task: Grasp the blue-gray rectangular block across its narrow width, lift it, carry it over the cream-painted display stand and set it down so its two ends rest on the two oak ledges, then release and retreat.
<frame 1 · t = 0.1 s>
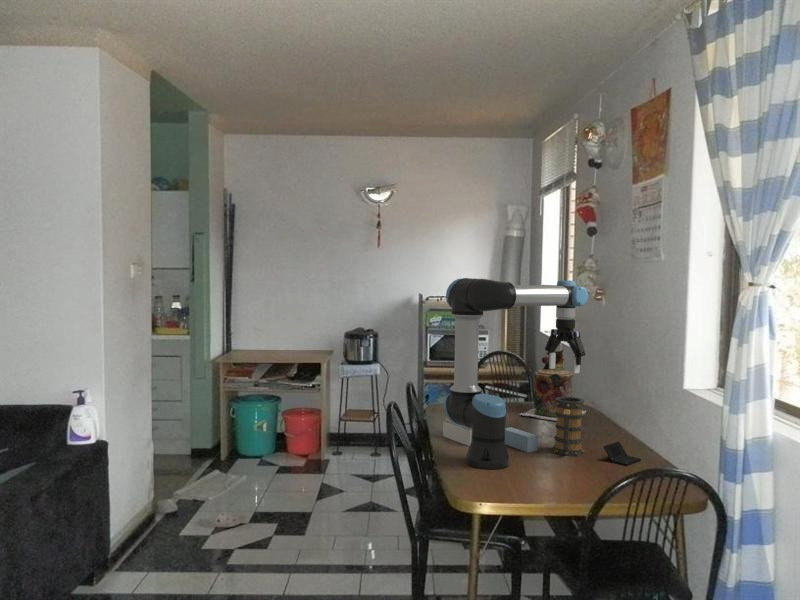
hand: (564, 370, 268), 28 cm above the table, fingers open, 13 cm apart
stand: (470, 439, 265), on the table
blue-gray rectangular block: (518, 447, 255), on the table
mug: (567, 454, 247), on the table
cookie jar: (552, 416, 313), on the table
handheld gaming console: (622, 461, 239), on the table
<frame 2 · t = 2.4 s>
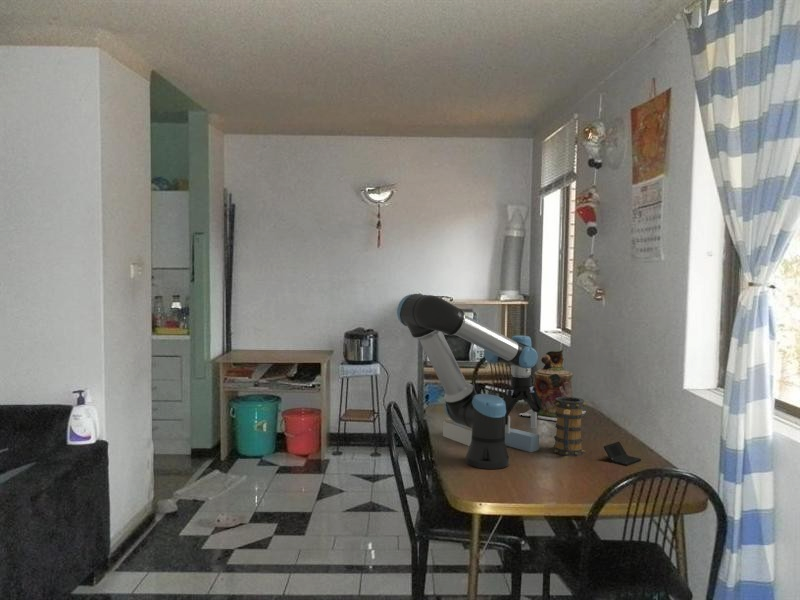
hand: (520, 430, 255), 6 cm above the table, fingers open, 13 cm apart
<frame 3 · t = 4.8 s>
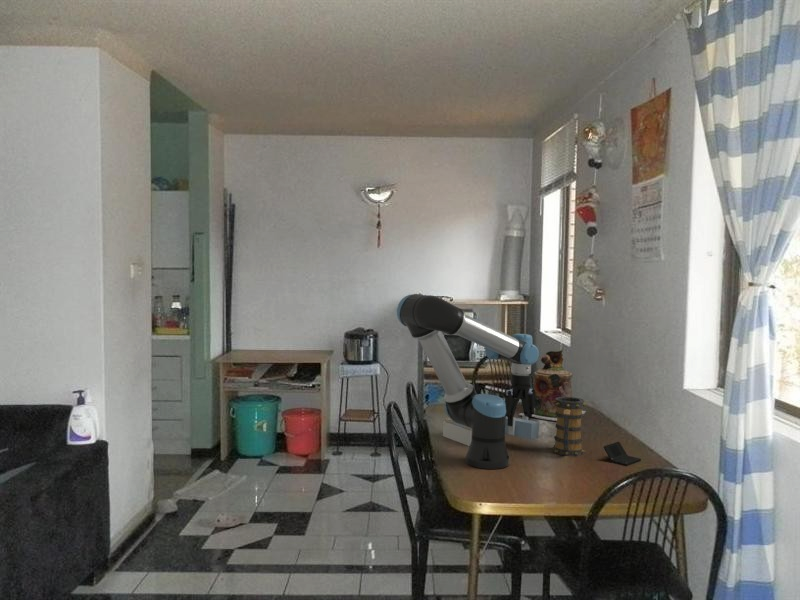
hand: (517, 433, 255), 5 cm above the table, fingers closed on blue-gray rectangular block, 6 cm apart
blue-gray rectangular block: (517, 435, 255), point 5 cm above the table, touching gripper
everything else where it was.
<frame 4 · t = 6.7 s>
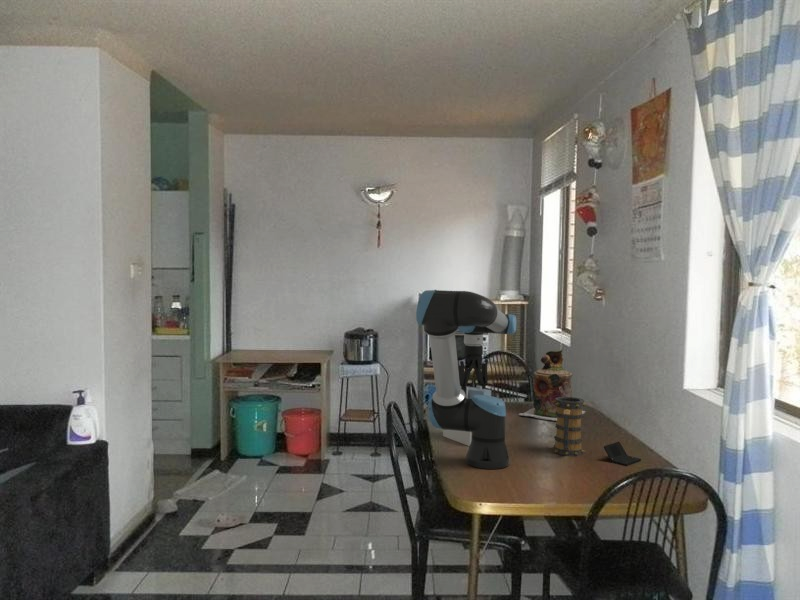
hand: (472, 402, 265), 15 cm above the table, fingers closed on blue-gray rectangular block, 6 cm apart
blue-gray rectangular block: (471, 403, 265), point 14 cm above the table, touching gripper
everything else where it was.
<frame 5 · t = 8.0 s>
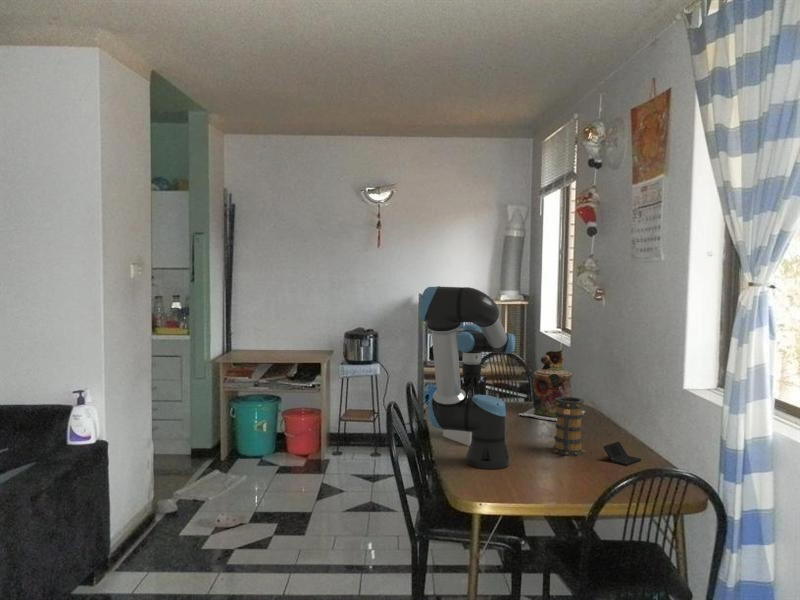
hand: (470, 419, 265), 8 cm above the table, fingers closed on blue-gray rectangular block, 6 cm apart
blue-gray rectangular block: (470, 421, 265), point 7 cm above the table, touching gripper, stand
everything else where it was.
when the fingers open (7 cm above the table, at t = 8.5 s): blue-gray rectangular block stays where it is, resting on stand.
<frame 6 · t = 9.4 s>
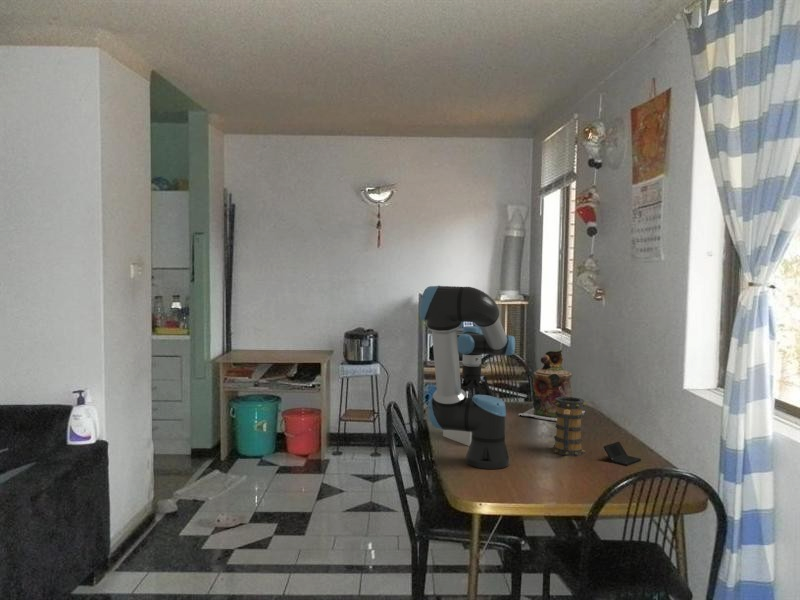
hand: (470, 417, 265), 9 cm above the table, fingers open, 13 cm apart
blue-gray rectangular block: (470, 421, 265), point 7 cm above the table, touching stand
everything else where it was.
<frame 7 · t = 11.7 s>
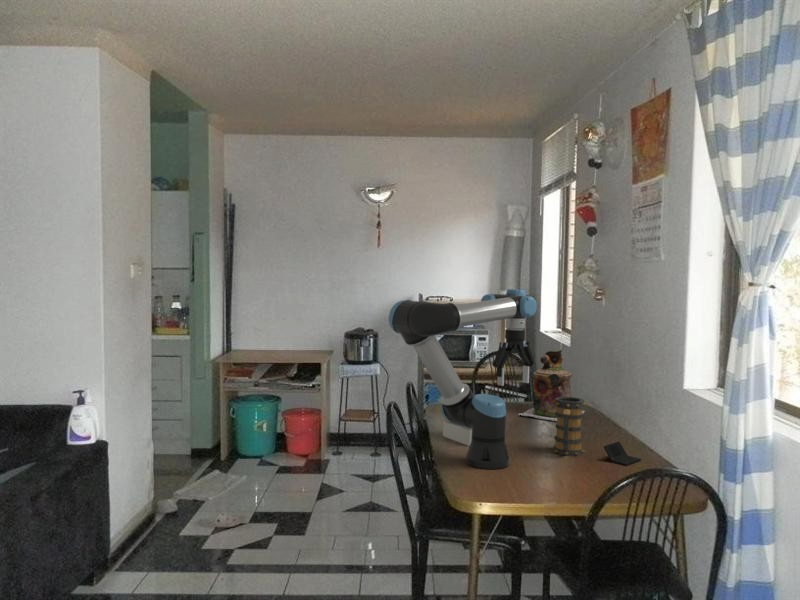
hand: (513, 383, 255), 24 cm above the table, fingers open, 13 cm apart
nothing on the table moved.
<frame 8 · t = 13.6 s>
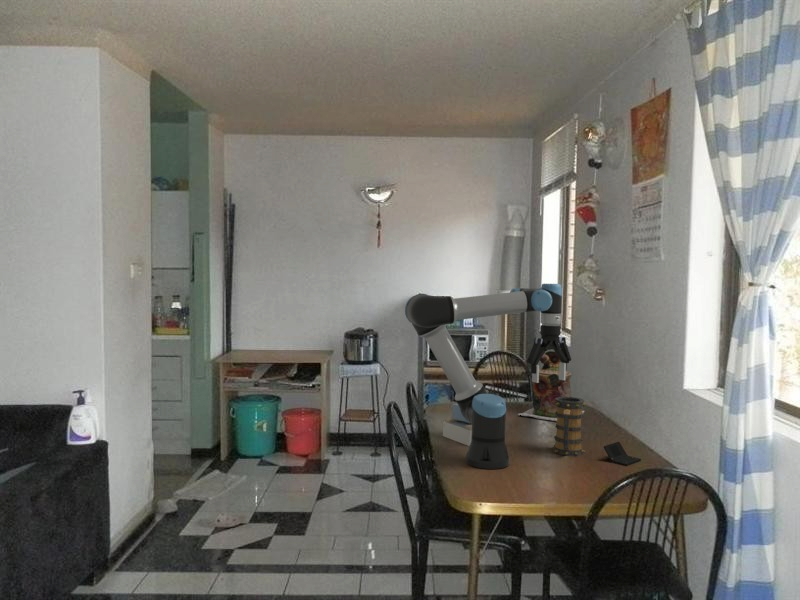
hand: (548, 381, 248), 27 cm above the table, fingers open, 13 cm apart
nothing on the table moved.
at the end: blue-gray rectangular block inside the target area on the stand (0.1 cm from its centre), point 7.3 cm above the stand's base; blue-gray rectangular block tilted 0°; blue-gray rectangular block touching stand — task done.
